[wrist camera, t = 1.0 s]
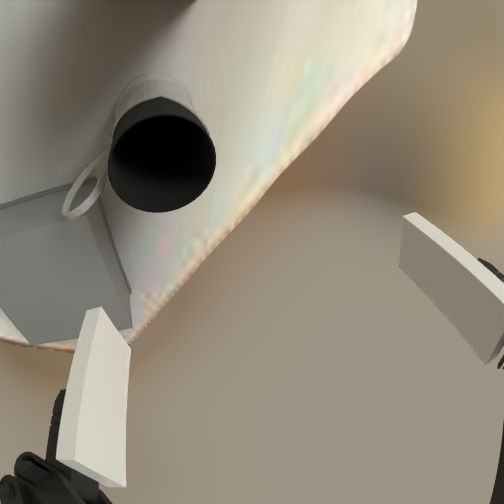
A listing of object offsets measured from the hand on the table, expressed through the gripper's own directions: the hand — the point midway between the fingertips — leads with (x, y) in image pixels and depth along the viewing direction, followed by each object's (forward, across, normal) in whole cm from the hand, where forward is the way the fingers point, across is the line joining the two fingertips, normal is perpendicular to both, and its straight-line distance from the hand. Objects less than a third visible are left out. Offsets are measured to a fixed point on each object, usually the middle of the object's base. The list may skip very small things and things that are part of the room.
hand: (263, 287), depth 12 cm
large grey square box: (+27, -25, -7) cm, 38 cm away
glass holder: (+26, -8, +6) cm, 27 cm away
